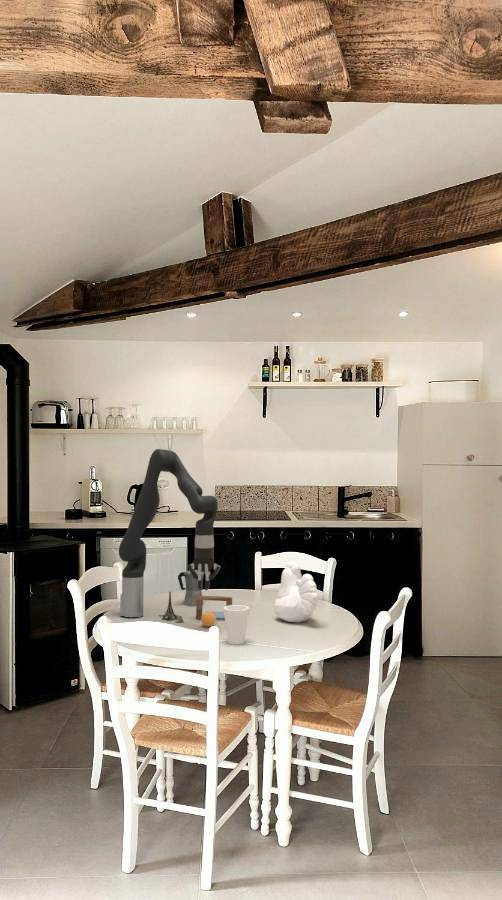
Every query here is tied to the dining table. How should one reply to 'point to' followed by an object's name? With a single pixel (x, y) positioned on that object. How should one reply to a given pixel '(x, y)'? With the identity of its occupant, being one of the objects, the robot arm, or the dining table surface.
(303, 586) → the decorative rooster
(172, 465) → the robot arm
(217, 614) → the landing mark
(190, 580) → the coffeepot
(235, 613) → the foam cup
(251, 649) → the dining table surface
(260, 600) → the dining table surface
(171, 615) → the eiffel tower figurine
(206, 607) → the dining table surface
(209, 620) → the ball
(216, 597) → the bridge
